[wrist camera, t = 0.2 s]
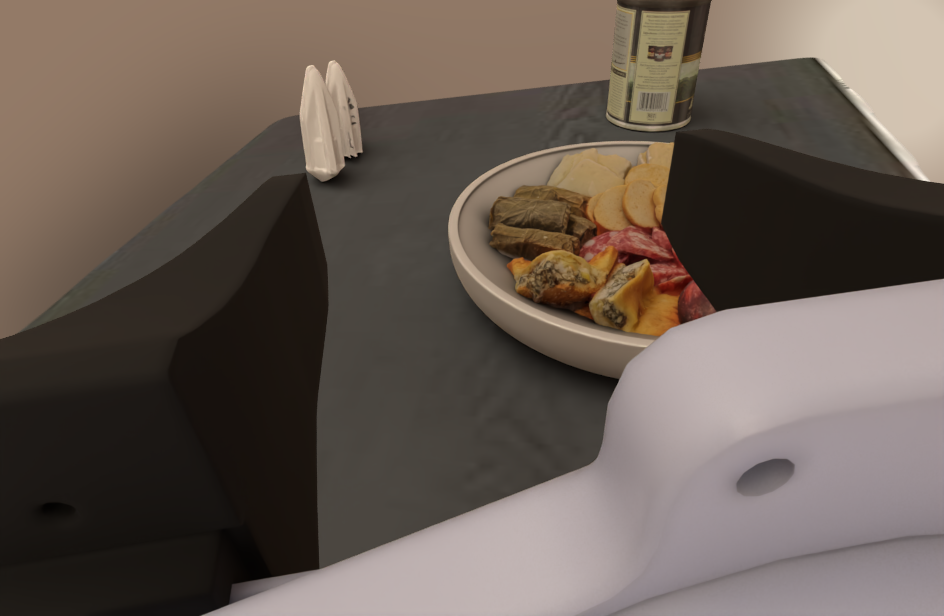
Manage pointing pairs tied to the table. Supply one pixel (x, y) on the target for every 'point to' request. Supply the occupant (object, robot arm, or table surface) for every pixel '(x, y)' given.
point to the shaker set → (328, 121)
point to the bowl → (576, 252)
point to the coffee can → (655, 62)
